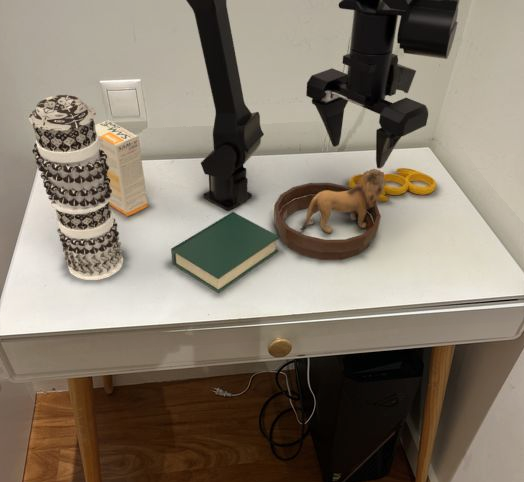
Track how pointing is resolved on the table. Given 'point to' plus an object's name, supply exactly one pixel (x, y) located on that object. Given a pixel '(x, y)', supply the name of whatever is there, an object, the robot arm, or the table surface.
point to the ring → (312, 244)
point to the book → (224, 251)
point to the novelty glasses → (402, 183)
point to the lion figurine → (348, 200)
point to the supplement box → (123, 167)
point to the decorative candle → (77, 185)
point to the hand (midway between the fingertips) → (357, 156)
